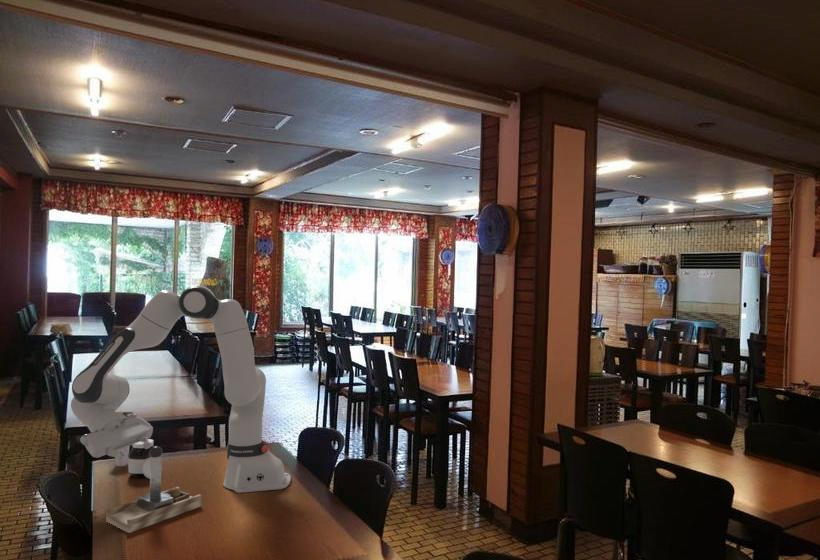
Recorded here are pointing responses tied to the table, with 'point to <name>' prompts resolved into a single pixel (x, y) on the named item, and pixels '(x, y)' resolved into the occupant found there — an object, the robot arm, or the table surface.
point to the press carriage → (154, 485)
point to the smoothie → (124, 461)
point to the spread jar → (140, 460)
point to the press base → (138, 518)
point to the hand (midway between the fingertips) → (135, 452)
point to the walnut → (174, 492)
